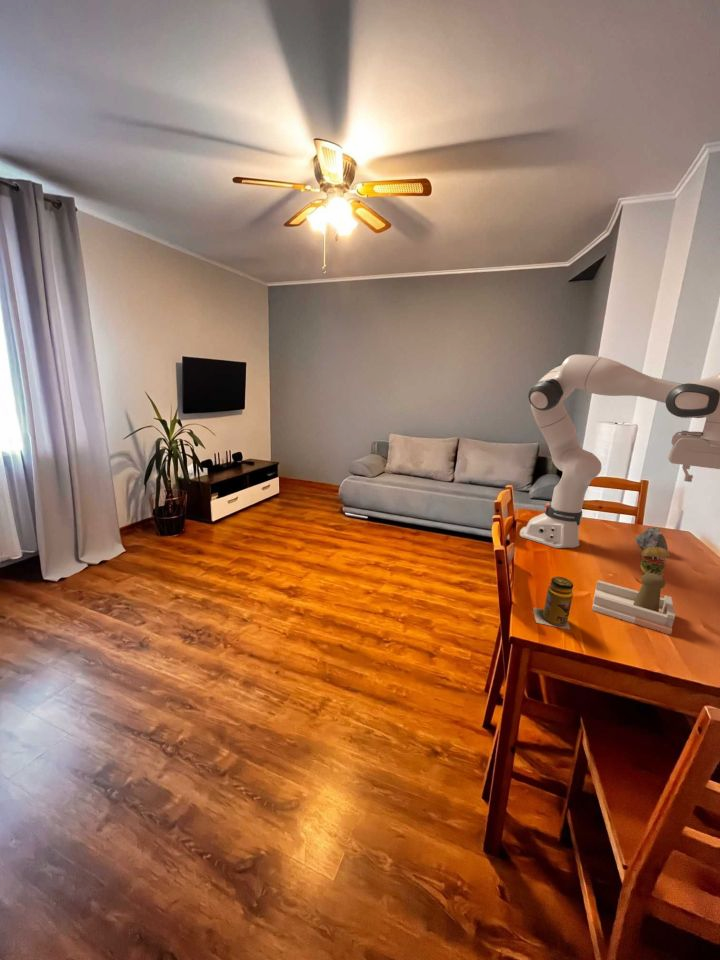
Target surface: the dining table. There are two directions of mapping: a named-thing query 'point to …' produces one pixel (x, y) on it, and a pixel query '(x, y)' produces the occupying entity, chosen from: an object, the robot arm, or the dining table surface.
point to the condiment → (556, 604)
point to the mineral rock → (651, 539)
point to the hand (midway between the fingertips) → (709, 484)
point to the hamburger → (654, 560)
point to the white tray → (632, 607)
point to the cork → (650, 592)
